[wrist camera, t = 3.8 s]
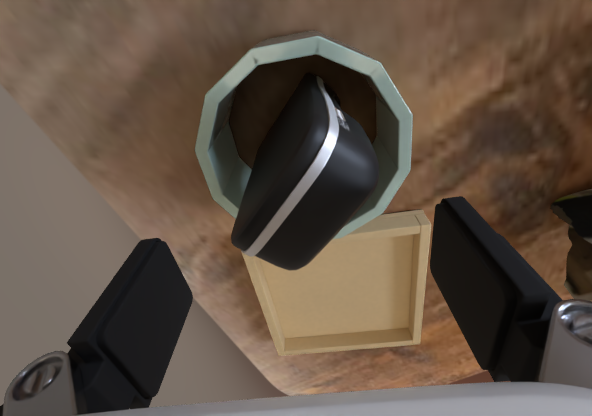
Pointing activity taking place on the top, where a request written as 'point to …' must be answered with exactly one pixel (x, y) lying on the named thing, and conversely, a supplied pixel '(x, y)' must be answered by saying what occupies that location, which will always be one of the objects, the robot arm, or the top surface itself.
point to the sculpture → (578, 241)
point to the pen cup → (219, 99)
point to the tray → (350, 289)
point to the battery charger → (305, 179)
